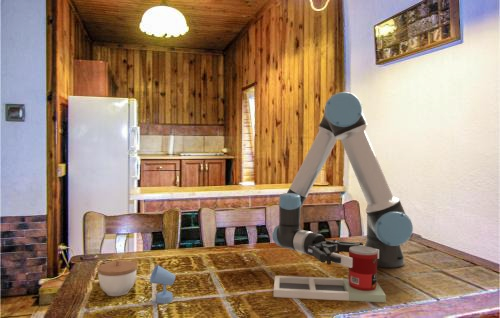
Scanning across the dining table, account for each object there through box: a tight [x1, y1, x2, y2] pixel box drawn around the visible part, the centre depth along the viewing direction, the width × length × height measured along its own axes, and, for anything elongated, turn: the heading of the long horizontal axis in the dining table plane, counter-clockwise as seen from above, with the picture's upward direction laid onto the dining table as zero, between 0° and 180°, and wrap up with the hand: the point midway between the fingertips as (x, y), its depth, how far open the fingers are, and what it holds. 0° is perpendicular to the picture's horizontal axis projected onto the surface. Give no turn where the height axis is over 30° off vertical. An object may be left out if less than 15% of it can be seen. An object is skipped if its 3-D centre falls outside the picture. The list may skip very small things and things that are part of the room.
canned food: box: [348, 245, 378, 291], centre depth 108 cm, size 8×8×11 cm
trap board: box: [273, 275, 387, 303], centre depth 109 cm, size 31×12×2 cm, turn 84°
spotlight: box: [149, 264, 176, 304], centre depth 102 cm, size 5×10×7 cm
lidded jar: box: [97, 259, 138, 297], centre depth 108 cm, size 11×11×9 cm
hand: (365, 258), depth 107 cm, fingers open, 13 cm apart
